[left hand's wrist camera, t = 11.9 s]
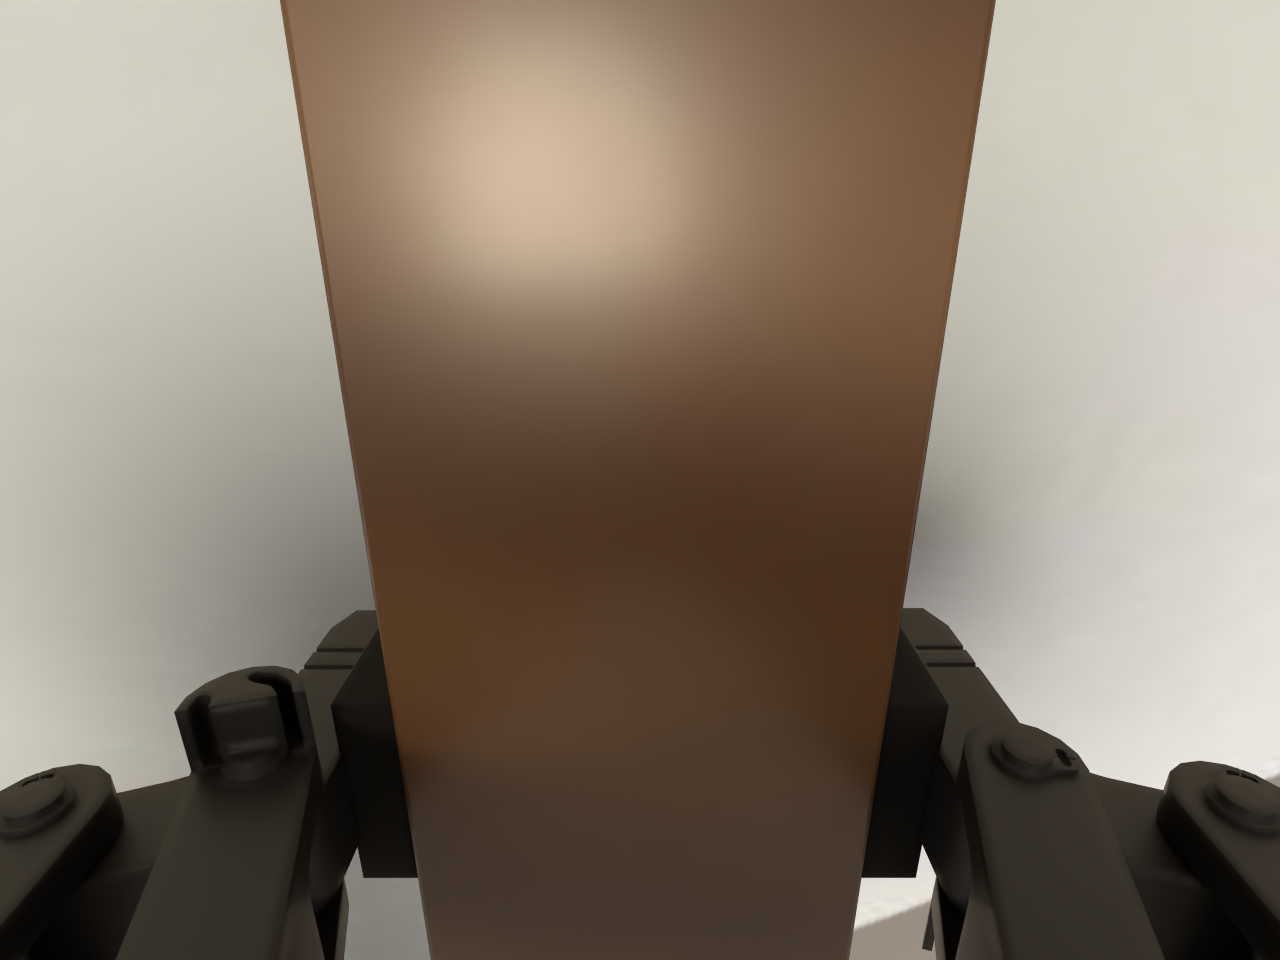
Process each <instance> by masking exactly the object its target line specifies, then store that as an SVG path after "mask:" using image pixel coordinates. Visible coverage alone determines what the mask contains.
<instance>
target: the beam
mask: <svg viewBox="0 0 1280 960" xmlns="http://www.w3.org/2000/svg"><path fill="white" fill-rule="evenodd" d="M995 2H996V0H280V3H281V10H282V16H283V22H284V29H285V35H286V42H287V48H288V54H289V61H290V67H291V73H292V80H293V86H294V92H295V99H296V105H297V111H298V118H299V124H300V130H301V137H302V143H303V150H304V156H305V162H306V169H307V175H308V181H309V188H310V194H311V200H312V207H313V213H314V219H315V226H316V232H317V238H318V245H319V251H320V257H321V264H322V270H323V277H324V283H325V289H326V296H327V302H328V308H329V315H330V321H331V327H332V334H333V340H334V346H335V353H336V359H337V365H338V372H339V378H340V385H341V391H342V397H343V404H344V410H345V416H346V423H347V429H348V435H349V442H350V448H351V454H352V461H353V467H354V473H355V480H356V486H357V493H358V499H359V505H360V512H361V518H362V524H363V531H364V537H365V543H366V550H367V556H368V562H369V569H370V575H371V581H372V588H373V594H374V600H375V607H376V613H377V620H378V626H379V632H380V639H381V645H382V651H383V658H384V664H385V670H386V677H387V683H388V689H389V696H390V702H391V708H392V715H393V721H394V728H395V734H396V740H397V747H398V753H399V759H400V766H401V772H402V778H403V785H404V791H405V797H406V804H407V810H408V816H409V823H410V829H411V835H412V842H413V848H414V855H415V861H416V867H417V874H418V880H419V886H420V893H421V899H422V905H423V912H424V918H425V924H426V931H427V937H428V943H429V950H430V956H431V960H849V955H850V948H851V942H852V936H853V929H854V922H855V916H856V909H857V903H858V896H859V890H860V883H861V877H862V870H863V864H864V857H865V851H866V844H867V838H868V831H869V824H870V818H871V811H872V805H873V798H874V792H875V785H876V779H877V772H878V766H879V759H880V753H881V746H882V740H883V733H884V727H885V720H886V713H887V707H888V700H889V694H890V687H891V681H892V674H893V668H894V661H895V655H896V648H897V642H898V635H899V629H900V622H901V615H902V609H903V602H904V596H905V589H906V583H907V576H908V570H909V563H910V557H911V550H912V544H913V537H914V531H915V524H916V518H917V511H918V504H919V498H920V491H921V485H922V478H923V472H924V465H925V459H926V452H927V446H928V439H929V433H930V426H931V420H932V413H933V407H934V400H935V393H936V387H937V380H938V374H939V367H940V361H941V354H942V348H943V341H944V335H945V328H946V322H947V315H948V309H949V302H950V295H951V289H952V282H953V276H954V269H955V263H956V256H957V250H958V243H959V237H960V230H961V224H962V217H963V211H964V204H965V198H966V191H967V184H968V178H969V171H970V165H971V158H972V152H973V145H974V139H975V132H976V126H977V119H978V113H979V106H980V100H981V93H982V86H983V80H984V73H985V67H986V60H987V54H988V47H989V41H990V34H991V28H992V21H993V15H994V8H995Z"/></svg>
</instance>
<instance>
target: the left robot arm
mask: <svg viewBox="0 0 1280 960" xmlns="http://www.w3.org/2000/svg"><path fill="white" fill-rule="evenodd" d="M174 713H175V716H176V720H177V723H178V727H179V730H180V734H181V737H182V740H183V744H184V747H185V751H186V754H187V758H188V761H189V764H190V768H191V773H190V776H187V777H184V778H180V779H177V780H174V781H169V782H165V783H161V784H156V785H152V786H147V787H143V788H138V789H134V790H130V791H125V792H121V793H116V790H115V787H114V784H113V781H112V778H111V775H110V774H108V773H107V772H106V771H105V770H103V769H102V768H101V767H99V766H92V765H84V764H76V765H70V766H63V767H57V768H52V769H50V770H47V771H43V772H41V773H37V774H34V775H32V776H29V777H27V778H24V779H22V780H20V781H19V782H17V783H15V784H13V785H11V786H9V787H7V788H5V789H4V790H2V791H0V960H344V951H345V941H346V931H347V921H348V911H349V903H348V896H347V890H346V885H345V880H344V876H345V874H346V872H347V869H348V867H349V865H350V862H351V860H352V858H353V856H354V853H355V851H356V849H357V847H358V851H359V856H360V861H361V867H362V872H363V877H364V878H418V874H417V867H416V861H415V855H414V848H413V842H412V835H411V829H410V823H409V816H408V810H407V804H406V797H405V791H404V785H403V778H402V772H401V766H400V759H399V753H398V747H397V740H396V734H395V728H394V721H393V715H392V708H391V702H390V696H389V689H388V683H387V677H386V670H385V664H384V658H383V651H382V645H381V639H380V632H379V626H378V620H377V613H376V611H356V612H354V613H353V614H351V615H350V616H348V617H347V618H345V619H344V620H343V621H341V622H340V623H338V624H337V625H335V626H334V627H332V628H331V630H330V631H329V632H328V634H327V635H326V636H325V638H324V639H323V641H322V642H321V643H320V645H319V646H318V647H317V652H314V653H313V654H312V656H311V657H310V658H309V660H308V661H307V662H306V664H305V665H304V670H301V671H300V672H299V673H298V674H297V673H296V672H295V671H293V670H291V669H287V668H282V667H278V666H263V667H251V668H247V669H243V670H239V671H235V672H231V673H228V674H226V675H223V676H221V677H219V678H217V679H214V680H212V681H210V682H208V683H205V684H204V685H203V686H201V687H200V688H198V689H197V690H195V691H194V692H193V693H191V694H190V695H188V696H187V697H186V698H185V699H184V700H183V702H182V703H181V704H180V706H179V707H178V708H177V709H176V711H175V712H174ZM922 845H923V847H924V849H925V851H926V854H927V856H928V858H929V860H930V863H931V865H932V867H933V869H934V872H935V874H936V880H935V885H934V890H933V895H932V900H931V904H930V909H929V914H928V919H927V924H926V929H925V934H924V940H923V947H922V949H926V950H930V951H932V947H933V942H934V939H935V949H936V960H1280V788H1279V787H1277V786H1275V785H1273V784H1272V783H1270V782H1268V781H1266V780H1264V779H1262V778H1260V777H1258V776H1257V775H1254V774H1252V773H1249V772H1247V771H1244V770H1240V769H1238V768H1234V767H1231V766H1228V765H1225V764H1218V763H1211V762H1205V761H1195V762H1187V763H1181V764H1179V765H1178V766H1177V767H1175V768H1174V769H1173V770H1172V771H1170V773H1169V776H1168V779H1167V781H1166V784H1165V787H1164V790H1159V789H1155V788H1150V787H1146V786H1142V785H1137V784H1133V783H1128V782H1124V781H1119V780H1115V779H1110V778H1106V777H1103V776H1099V775H1096V774H1092V773H1090V772H1089V770H1088V768H1087V767H1086V765H1085V764H1084V762H1083V761H1082V759H1081V758H1080V756H1079V755H1078V754H1077V753H1076V752H1075V751H1074V750H1072V749H1071V748H1070V747H1069V746H1067V745H1066V744H1065V743H1064V742H1062V741H1061V740H1060V739H1058V738H1056V737H1054V736H1052V735H1050V734H1048V733H1046V732H1044V731H1042V730H1040V729H1038V728H1035V727H1032V726H1028V725H1025V724H1021V723H1019V721H1018V720H1017V719H1016V717H1015V716H1014V715H1013V713H1012V712H1011V711H1010V709H1009V708H1008V706H1007V705H1006V704H1005V702H1004V701H1003V700H1002V698H1001V697H1000V696H999V694H998V693H997V692H996V690H995V689H994V687H993V686H992V685H991V683H990V682H989V681H988V679H987V678H986V677H985V675H984V674H983V672H982V671H981V670H980V668H979V667H976V666H975V662H974V660H973V659H972V658H971V656H970V655H969V653H968V652H967V651H966V650H963V645H962V644H961V643H960V641H959V640H958V638H957V637H956V636H955V634H954V633H953V632H952V630H951V629H950V628H949V626H948V625H946V624H945V623H943V622H942V621H941V620H939V619H938V618H936V617H935V616H933V615H932V614H930V613H929V612H927V611H926V610H924V609H923V608H903V609H902V615H901V622H900V629H899V635H898V642H897V648H896V655H895V661H894V668H893V674H892V681H891V687H890V694H889V700H888V707H887V713H886V720H885V727H884V733H883V740H882V746H881V753H880V759H879V766H878V772H877V779H876V785H875V792H874V798H873V805H872V811H871V818H870V824H869V831H868V838H867V844H866V851H865V857H864V864H863V870H862V877H861V878H916V873H917V868H918V863H919V858H920V853H921V847H922Z"/></svg>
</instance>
